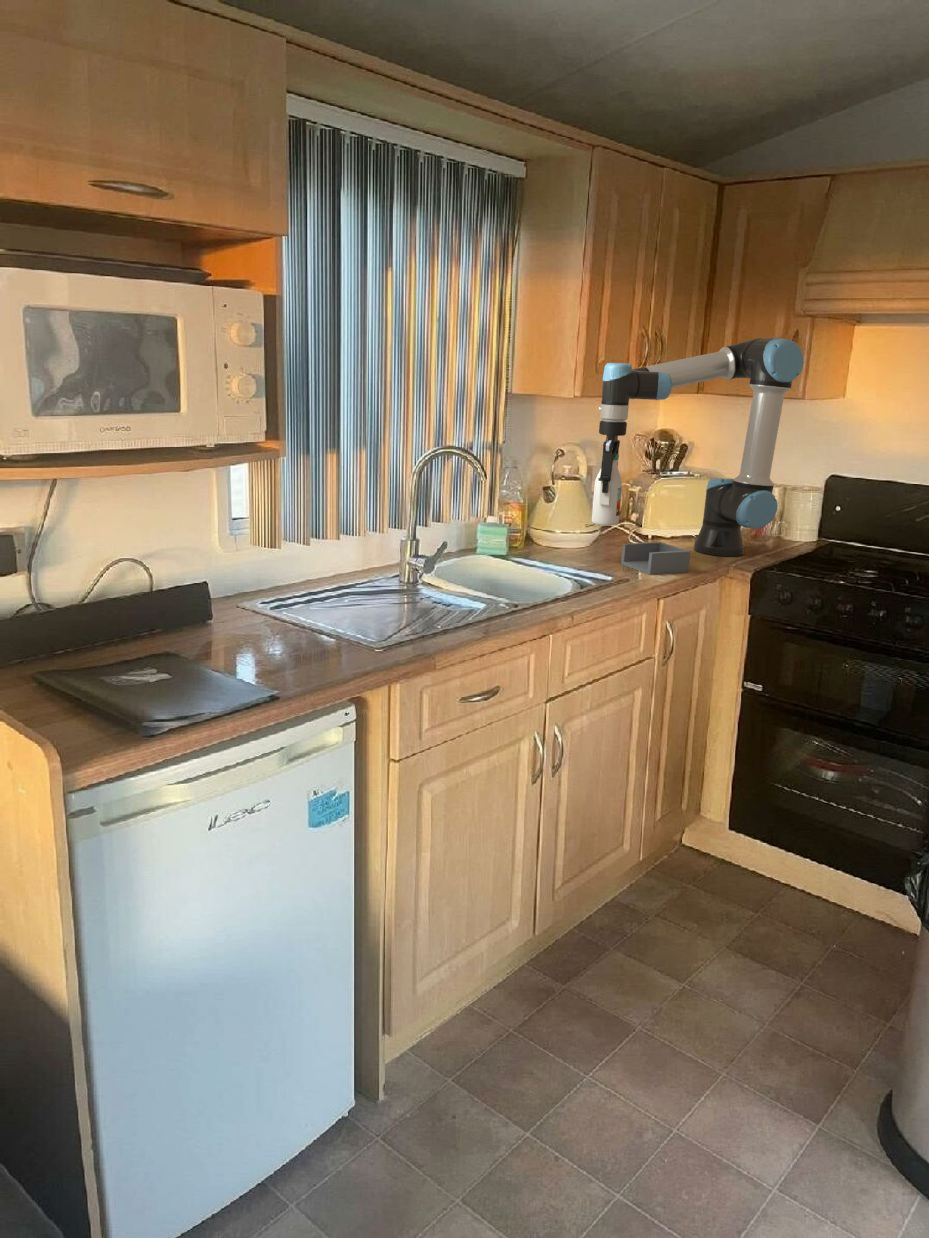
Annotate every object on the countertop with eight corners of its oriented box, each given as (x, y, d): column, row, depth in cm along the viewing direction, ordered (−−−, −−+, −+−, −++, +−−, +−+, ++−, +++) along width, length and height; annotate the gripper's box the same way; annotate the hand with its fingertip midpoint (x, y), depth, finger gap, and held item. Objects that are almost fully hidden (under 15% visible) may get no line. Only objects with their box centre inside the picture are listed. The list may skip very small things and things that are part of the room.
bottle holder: (658, 562, 283) (660, 541, 281) (687, 572, 271) (690, 551, 270) (620, 564, 277) (622, 543, 275) (649, 574, 265) (652, 553, 264)
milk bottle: (610, 527, 270) (616, 455, 265) (586, 523, 275) (591, 452, 269) (623, 524, 276) (629, 453, 271) (599, 520, 281) (605, 451, 275)
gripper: (606, 417, 278) (599, 496, 284) (593, 421, 259) (586, 506, 265) (632, 419, 276) (625, 498, 282) (621, 423, 257) (614, 508, 263)
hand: (606, 502), depth 274 cm, fingers closed on milk bottle, 7 cm apart
